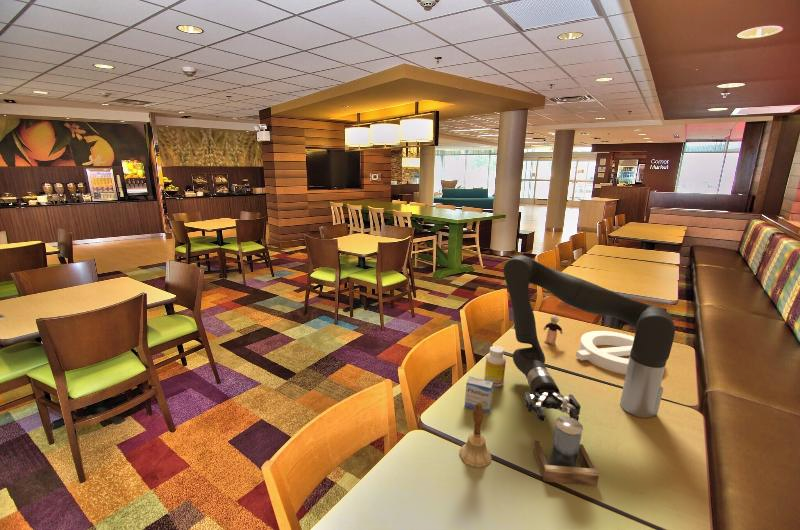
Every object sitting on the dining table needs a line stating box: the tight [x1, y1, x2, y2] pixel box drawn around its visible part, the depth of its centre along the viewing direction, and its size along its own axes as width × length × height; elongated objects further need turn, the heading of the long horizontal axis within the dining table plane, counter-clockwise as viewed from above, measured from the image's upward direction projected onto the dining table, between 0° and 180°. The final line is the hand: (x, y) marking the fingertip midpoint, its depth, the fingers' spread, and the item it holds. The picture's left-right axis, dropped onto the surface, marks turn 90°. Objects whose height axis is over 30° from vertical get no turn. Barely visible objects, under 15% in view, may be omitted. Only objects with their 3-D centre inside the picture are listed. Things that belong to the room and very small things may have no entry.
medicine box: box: [464, 375, 494, 413], centre depth 117 cm, size 8×4×9 cm, turn 68°
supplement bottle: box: [483, 345, 507, 388], centre depth 130 cm, size 7×7×13 cm
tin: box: [549, 415, 584, 467], centre depth 94 cm, size 6×6×12 cm
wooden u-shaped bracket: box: [533, 440, 600, 487], centre depth 95 cm, size 12×10×4 cm
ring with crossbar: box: [575, 330, 635, 376], centre depth 150 cm, size 28×28×5 cm
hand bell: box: [459, 402, 492, 469], centre depth 97 cm, size 8×8×16 cm
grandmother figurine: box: [543, 315, 563, 346], centre depth 158 cm, size 8×4×13 cm, turn 67°
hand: (559, 420), depth 100 cm, fingers open, 8 cm apart
